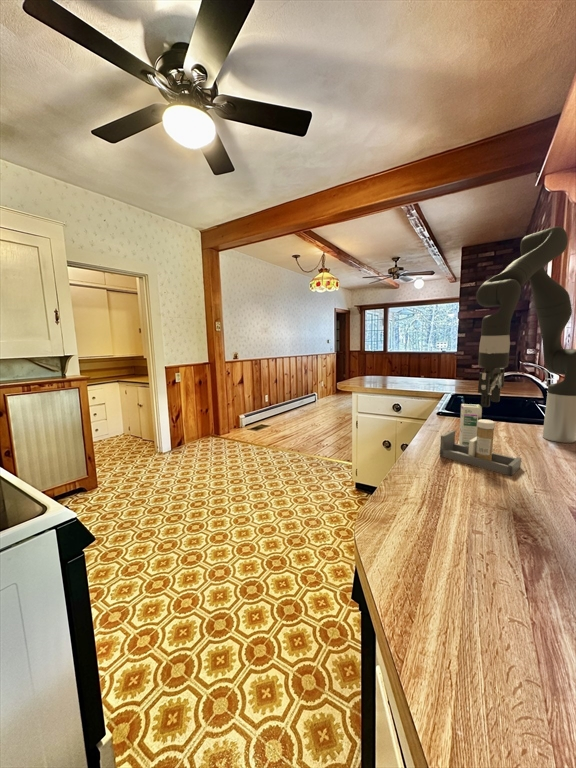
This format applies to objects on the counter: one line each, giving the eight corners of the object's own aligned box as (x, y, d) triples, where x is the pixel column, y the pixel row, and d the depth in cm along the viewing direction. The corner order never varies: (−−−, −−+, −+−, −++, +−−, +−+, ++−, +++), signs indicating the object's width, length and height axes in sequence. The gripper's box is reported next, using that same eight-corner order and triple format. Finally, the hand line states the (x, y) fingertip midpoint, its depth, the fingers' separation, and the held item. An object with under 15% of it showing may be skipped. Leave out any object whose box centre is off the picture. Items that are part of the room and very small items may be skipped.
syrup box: (460, 446, 112) (463, 406, 109) (458, 440, 117) (461, 402, 115) (479, 447, 110) (482, 407, 107) (476, 442, 115) (479, 403, 113)
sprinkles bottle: (494, 463, 97) (498, 421, 95) (487, 467, 94) (490, 423, 92) (478, 458, 101) (482, 418, 98) (471, 462, 98) (474, 420, 96)
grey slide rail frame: (451, 449, 109) (452, 430, 108) (520, 467, 93) (522, 445, 92) (439, 455, 103) (440, 435, 102) (511, 476, 88) (513, 452, 87)
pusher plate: (475, 451, 101) (476, 436, 101) (479, 452, 100) (480, 437, 100) (468, 456, 98) (469, 440, 97) (472, 457, 97) (473, 441, 96)
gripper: (488, 349, 100) (485, 398, 103) (470, 352, 91) (467, 406, 94) (516, 349, 94) (512, 402, 97) (500, 353, 85) (496, 410, 88)
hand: (490, 404), depth 95 cm, fingers open, 8 cm apart
